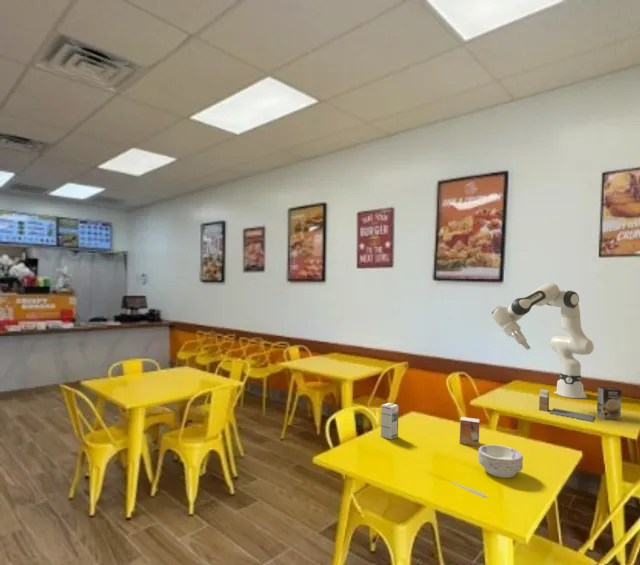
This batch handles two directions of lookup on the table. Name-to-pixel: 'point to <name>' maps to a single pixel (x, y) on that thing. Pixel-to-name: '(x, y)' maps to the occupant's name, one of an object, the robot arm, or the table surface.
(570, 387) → the robot arm
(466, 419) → the small box
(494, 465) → the paper bowls
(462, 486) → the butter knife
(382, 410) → the syrup box
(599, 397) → the coffee box
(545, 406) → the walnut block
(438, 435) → the table surface
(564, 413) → the mat
